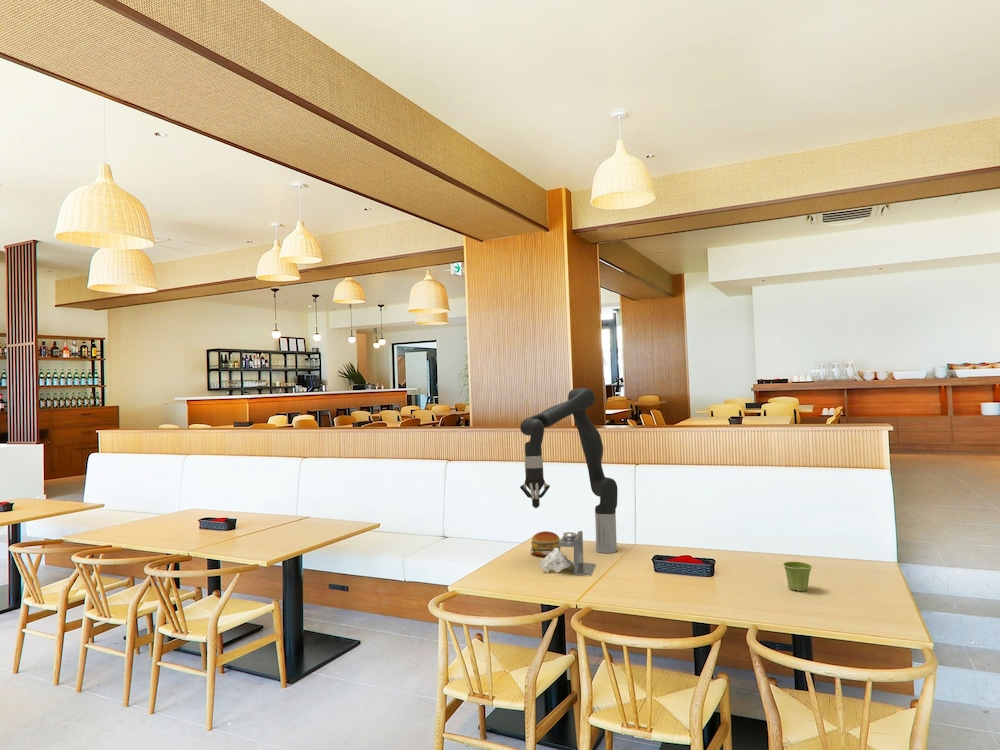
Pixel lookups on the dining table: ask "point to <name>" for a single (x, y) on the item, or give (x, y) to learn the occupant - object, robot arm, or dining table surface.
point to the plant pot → (797, 575)
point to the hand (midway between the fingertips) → (536, 507)
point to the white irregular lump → (555, 561)
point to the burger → (544, 543)
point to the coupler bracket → (577, 552)
